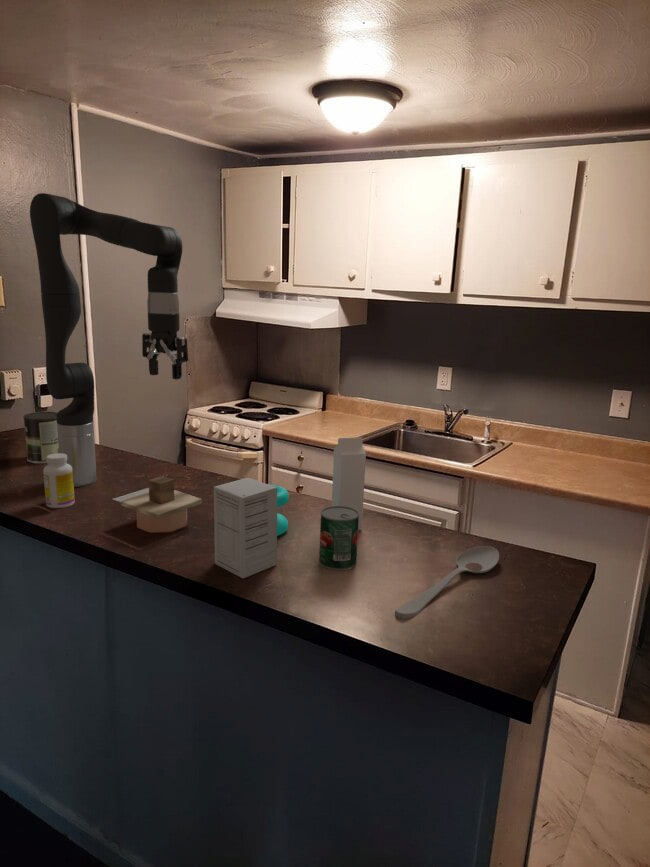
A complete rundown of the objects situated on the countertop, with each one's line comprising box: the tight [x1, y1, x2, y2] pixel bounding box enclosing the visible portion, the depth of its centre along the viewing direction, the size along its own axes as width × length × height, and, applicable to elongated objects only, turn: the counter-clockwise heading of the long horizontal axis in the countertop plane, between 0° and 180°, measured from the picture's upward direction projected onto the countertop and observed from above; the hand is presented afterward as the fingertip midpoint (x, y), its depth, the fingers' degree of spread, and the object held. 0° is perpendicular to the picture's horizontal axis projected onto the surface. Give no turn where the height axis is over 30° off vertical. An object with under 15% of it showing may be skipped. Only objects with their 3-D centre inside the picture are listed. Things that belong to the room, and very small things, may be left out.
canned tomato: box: [318, 505, 359, 571], centre depth 124 cm, size 8×8×11 cm
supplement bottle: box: [42, 453, 76, 509], centre depth 149 cm, size 7×7×13 cm
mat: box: [112, 487, 196, 503], centre depth 156 cm, size 15×15×1 cm
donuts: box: [270, 484, 290, 537], centre depth 138 cm, size 10×10×10 cm
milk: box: [331, 436, 367, 531], centre depth 141 cm, size 6×6×22 cm
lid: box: [120, 475, 203, 519], centre depth 139 cm, size 13×13×6 cm
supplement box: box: [213, 477, 278, 579], centre depth 120 cm, size 10×9×17 cm
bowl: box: [135, 509, 188, 534], centre depth 140 cm, size 11×11×5 cm
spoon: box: [394, 545, 500, 620], centre depth 117 cm, size 35×8×3 cm, turn 138°
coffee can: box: [22, 411, 59, 465], centre depth 185 cm, size 10×10×14 cm
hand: (165, 376), depth 151 cm, fingers open, 8 cm apart
